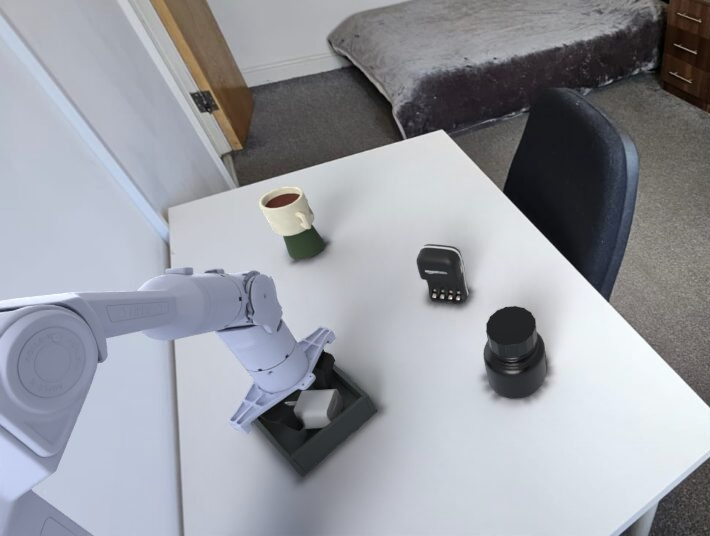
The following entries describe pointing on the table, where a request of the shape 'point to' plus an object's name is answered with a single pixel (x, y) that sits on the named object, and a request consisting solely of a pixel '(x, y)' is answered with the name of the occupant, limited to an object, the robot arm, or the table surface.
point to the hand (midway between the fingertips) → (310, 409)
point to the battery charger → (443, 273)
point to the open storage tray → (319, 442)
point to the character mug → (292, 220)
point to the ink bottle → (514, 353)
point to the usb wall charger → (317, 407)
